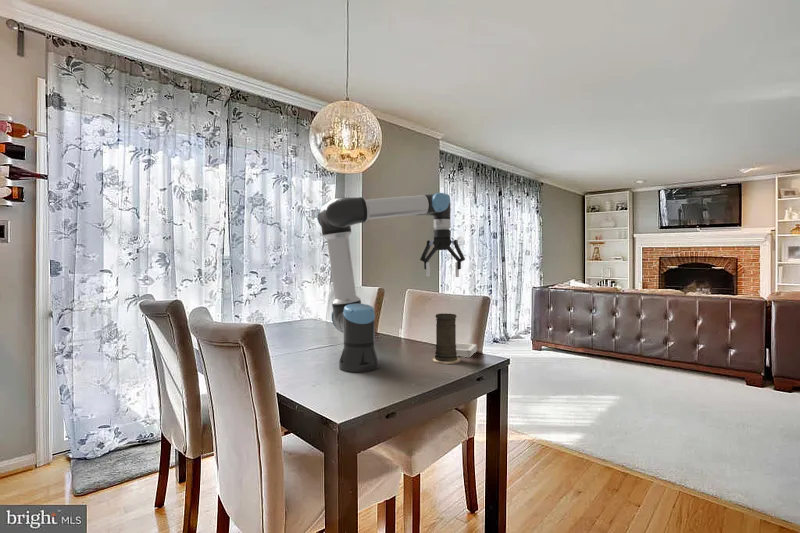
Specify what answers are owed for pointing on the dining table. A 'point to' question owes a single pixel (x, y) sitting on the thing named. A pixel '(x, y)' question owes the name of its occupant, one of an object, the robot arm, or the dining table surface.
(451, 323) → the container
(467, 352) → the cradle
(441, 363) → the disc
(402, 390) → the dining table surface
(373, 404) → the dining table surface
